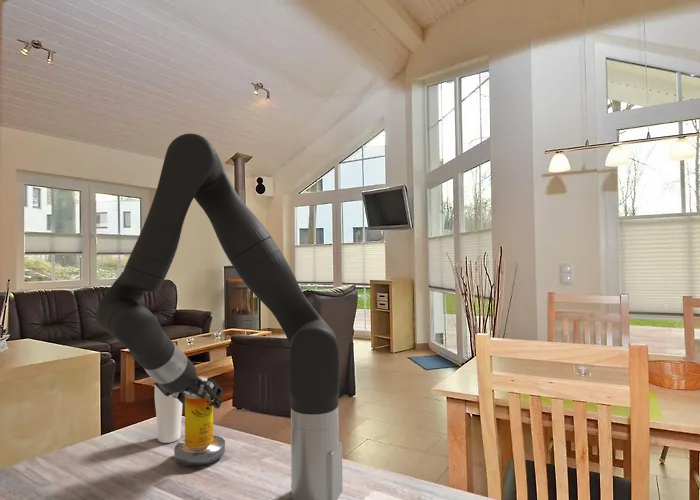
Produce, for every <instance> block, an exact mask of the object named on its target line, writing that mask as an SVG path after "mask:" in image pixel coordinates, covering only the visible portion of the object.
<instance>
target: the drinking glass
mask: <svg viewBox="0 0 700 500" xmlns="http://www.w3.org/2000/svg"><path fill="white" fill-rule="evenodd" d="M154 406H155V413H156V414H155V416H156V426H157V439H158V442H160V443H162V444H171V443H174V442H176V441H178V440H179V439H180V438H181V437H182V434H181V433H182V416H183V407H184V406H183V404H182V403H181V402H180V401H179V400H178V399H177V398H173V397H172V395H169V396H165V395H164V394H163V393H162V392H161V391H160V390H159V389H158V387H157V386H156V385H155V384H154Z"/></svg>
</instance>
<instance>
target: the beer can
mask: <svg viewBox="0 0 700 500" xmlns="http://www.w3.org/2000/svg"><path fill="white" fill-rule="evenodd" d="M198 377H199V378H200V379H202V380H203V381H207V379H208V378H211V377H210V376H204V375H202V376H198ZM202 390H203V387H201V388H200V390H199V392H198V394H201V392H202ZM206 395H207V396H209V397H210V395H209V394H208V393H206ZM213 435H214V406H213V405H212V404H211V403H210V402H209V401H208V400H206V399H204V398H203V399H198V398H196V397H194V396H192V395H188V394H185V405H184V440H185V445H186V446H187V447H188V448H189V449H191V450H201V449H204V448H207V447H208V446H210V444H211V442H212V441H213Z"/></svg>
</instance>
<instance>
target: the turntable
mask: <svg viewBox="0 0 700 500" xmlns="http://www.w3.org/2000/svg"><path fill="white" fill-rule="evenodd" d="M173 451H174V453H173V455H174V456H173V457H174V461H175V463H178V464H179V465H182V466H186V465H190V466H192V465H202V464H206V463H210V462H212V461H214V462H215V461H216V460H219V459H221V457H223V456H224V455H225V453H226V440H225V439H224V438H223V437H222V436H219V435H214V434H213V441H212V442H211V444H210V446H208V447H207V448H204V449H201V450H191V449H189V448H188V447H187V446H186V445H185V439H183V440H181V441H179V442H178V443H177V444H176V445H175V446H174V449H173ZM212 463H213V462H212ZM210 464H211V463H210ZM190 466H189V467H190Z"/></svg>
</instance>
